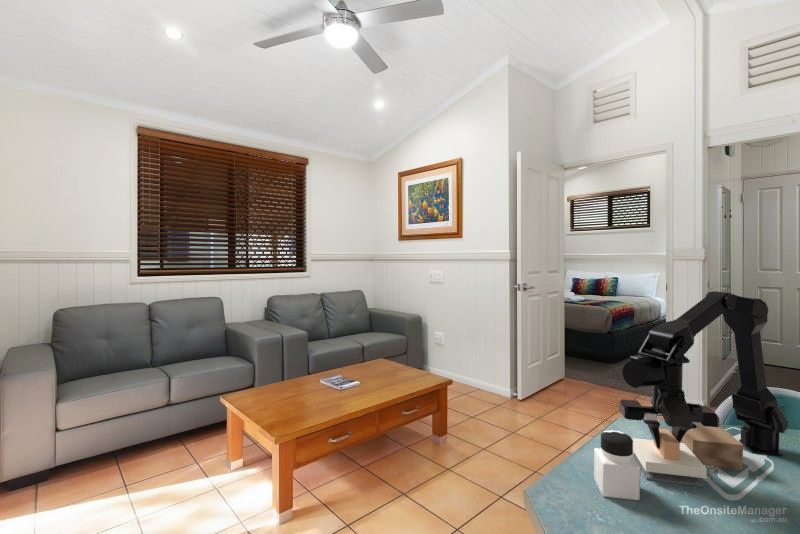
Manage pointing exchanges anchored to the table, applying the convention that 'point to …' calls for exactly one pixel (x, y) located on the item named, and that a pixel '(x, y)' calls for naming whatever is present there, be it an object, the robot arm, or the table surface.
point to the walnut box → (714, 447)
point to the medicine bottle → (617, 466)
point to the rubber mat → (669, 476)
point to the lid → (668, 456)
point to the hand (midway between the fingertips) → (665, 448)
